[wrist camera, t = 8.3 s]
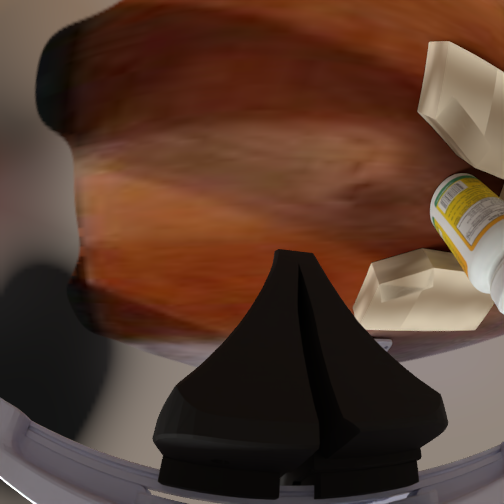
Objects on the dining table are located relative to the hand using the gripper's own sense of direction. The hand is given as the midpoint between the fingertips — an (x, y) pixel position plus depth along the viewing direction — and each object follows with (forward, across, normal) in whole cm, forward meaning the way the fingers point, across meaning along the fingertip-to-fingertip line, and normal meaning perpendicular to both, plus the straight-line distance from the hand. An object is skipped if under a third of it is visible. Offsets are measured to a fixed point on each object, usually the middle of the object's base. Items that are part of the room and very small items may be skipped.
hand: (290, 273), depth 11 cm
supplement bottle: (+10, -13, 0) cm, 17 cm away
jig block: (+10, -15, 0) cm, 18 cm away
